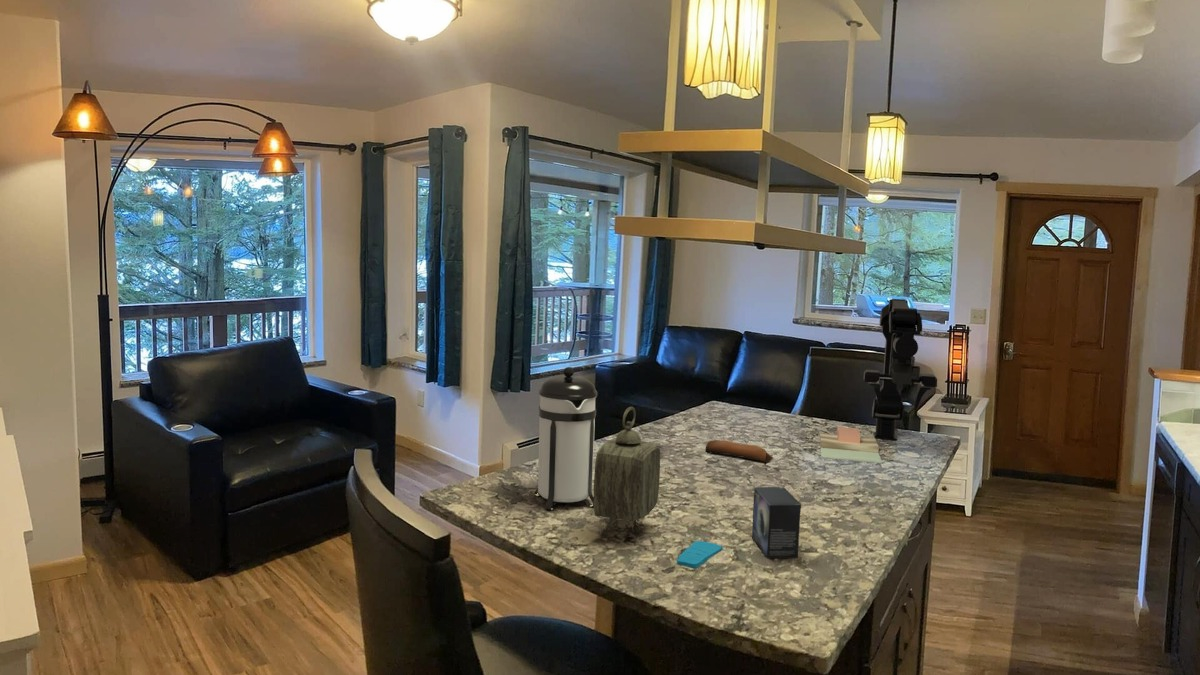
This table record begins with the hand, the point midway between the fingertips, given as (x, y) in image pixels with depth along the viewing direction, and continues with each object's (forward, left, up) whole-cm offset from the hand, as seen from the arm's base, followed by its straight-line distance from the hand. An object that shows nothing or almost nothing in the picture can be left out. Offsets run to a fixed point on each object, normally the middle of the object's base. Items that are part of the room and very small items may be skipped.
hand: (897, 408), depth 215 cm
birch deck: (-10, -12, -14) cm, 21 cm away
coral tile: (-11, -12, -12) cm, 20 cm away
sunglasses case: (+12, -42, -15) cm, 46 cm away
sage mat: (+1, -12, -14) cm, 19 cm away
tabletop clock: (+81, -59, -15) cm, 101 cm away
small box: (+79, -30, -15) cm, 86 cm away
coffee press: (+67, -77, -15) cm, 102 cm away
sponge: (+88, -44, -15) cm, 99 cm away
